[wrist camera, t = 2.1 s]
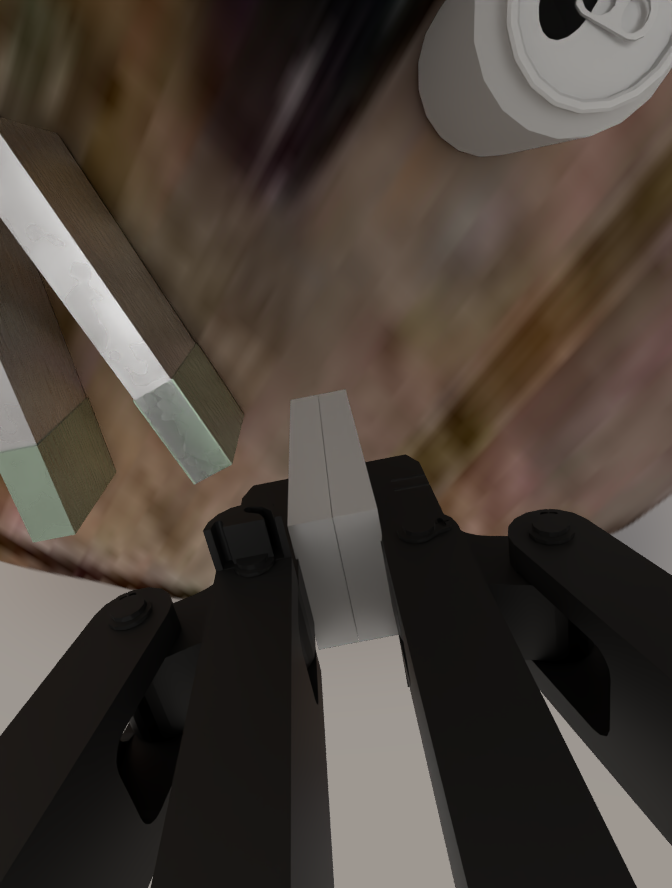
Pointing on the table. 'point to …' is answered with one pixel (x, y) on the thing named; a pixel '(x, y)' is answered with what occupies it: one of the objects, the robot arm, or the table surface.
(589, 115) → the can
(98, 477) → the base
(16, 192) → the tong jaw
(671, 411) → the table surface
